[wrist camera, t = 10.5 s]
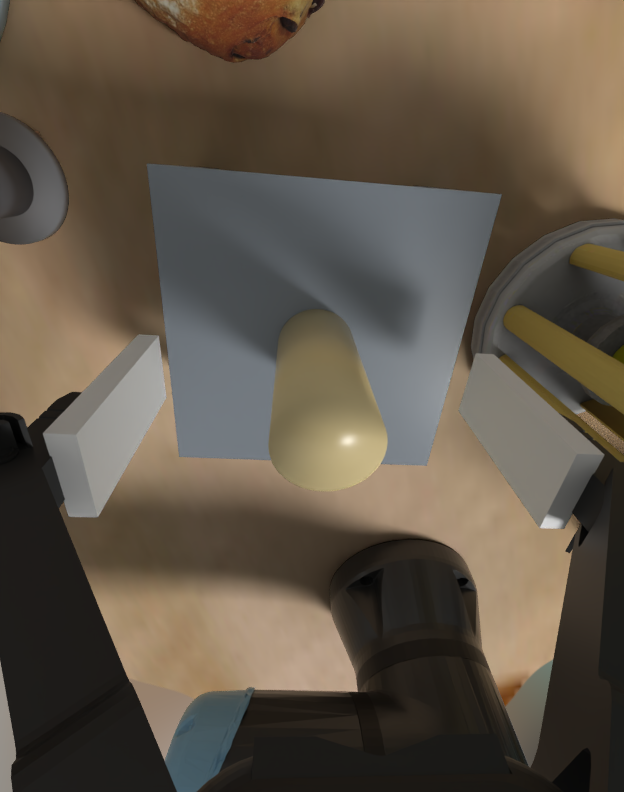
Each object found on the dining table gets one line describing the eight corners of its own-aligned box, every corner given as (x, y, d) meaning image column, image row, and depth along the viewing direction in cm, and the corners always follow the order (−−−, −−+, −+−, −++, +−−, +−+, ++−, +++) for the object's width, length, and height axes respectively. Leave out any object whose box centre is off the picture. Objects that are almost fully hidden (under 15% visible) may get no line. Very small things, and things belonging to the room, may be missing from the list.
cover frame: (433, 187, 24) (662, 210, 9) (392, 390, 31) (484, 593, 16) (197, 167, 23) (18, 155, 8) (209, 381, 30) (125, 590, 15)
